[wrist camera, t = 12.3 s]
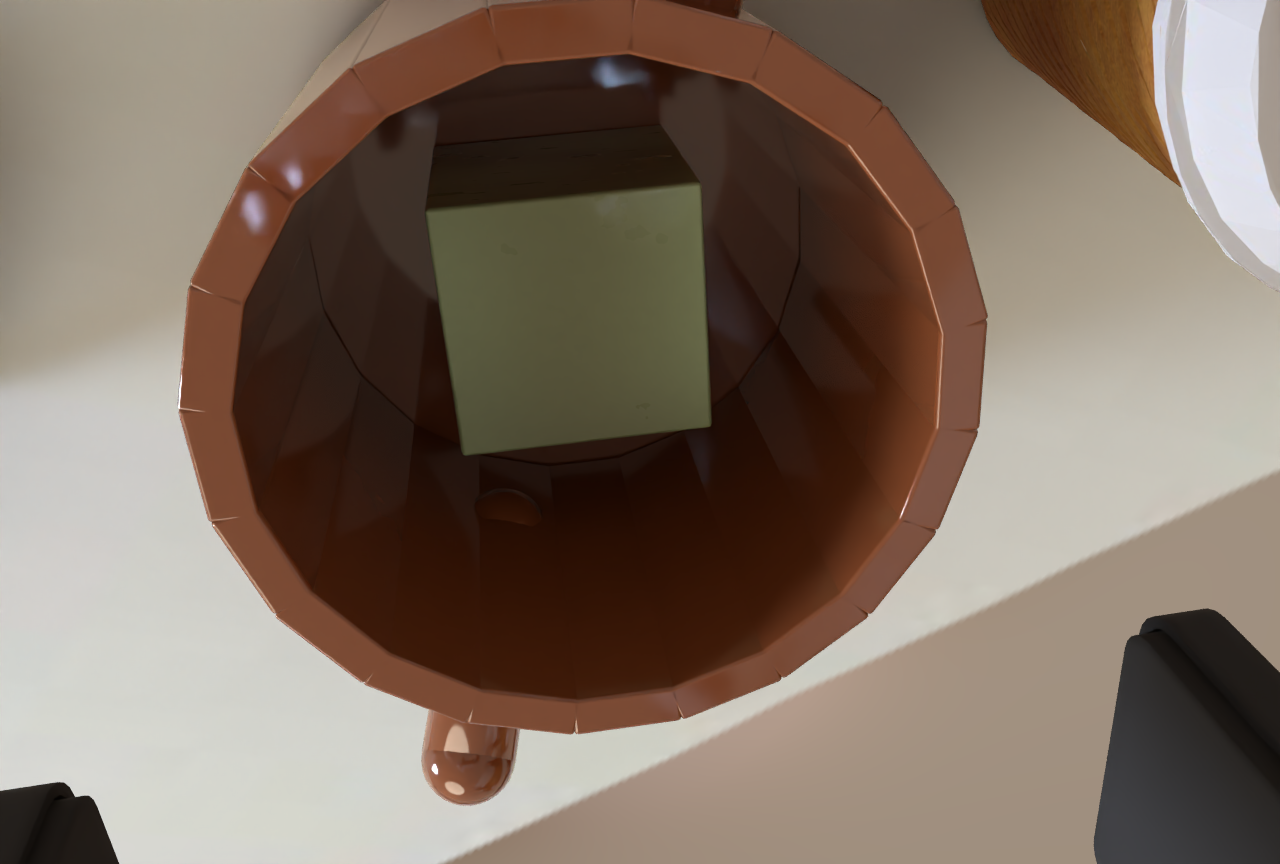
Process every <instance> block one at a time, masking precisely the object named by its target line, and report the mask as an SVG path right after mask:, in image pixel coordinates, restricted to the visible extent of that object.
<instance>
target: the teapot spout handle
mask: <svg viewBox="0 0 1280 864" xmlns="http://www.w3.org/2000/svg"><path fill="white" fill-rule="evenodd" d="M693 1H697V2H701V3H705V4H709V5H713V6H717V7H721V8H726V9H731V10H737V11H741V10H742V6H743V3H744V0H693ZM475 507H476V510H477V512H478V514H479V515H480V516H481V517H483V518H484V519H486V520H487V521H489V522H491V523H493V524H496V525H499V526H502V527H507V528H528V527H531V526H534V525H536V524H537V523H539V522H540V521H541V519H542V517H543V515H542V510H541V509H540V507H539V506H538V504H537V503H536V502H535V501H534V500H533V499H532V498H531V497H529V496H528V495H526V494H525V493H523V492H521V491H518V490H515V489H510V488H496V489H492V490H488V491H486V492H484V493H482V494H480V495H478V496H477V498H476V499H475ZM519 732H520V729H517V728H508V727H498V726H489V725H480V724H471V723H468V722H467V721H466V722H465V723H463V722H460V721H458V720H455V719H452V718H450V717H447V716H445V715H442V714H439V713H437V712H434V711H432V710H429V711H428V717H427V723H426V729H425V735H424V741H423V747H422V759H421V761H422V769H423V773H424V776H425V779H426V781H427V782H428V784H429V786H430V787H431V789H432V790H433V791H434V792H435V793H436V794H437V795H438V796H440V797H441V798H442V799H444V800H446V801H448V802H450V803H452V804H457V805H463V806H471V805H477V804H481V803H483V802H486V801H488V800H490V799H491V798H493V797H494V796H496V795H497V794H498V793H499V792H500V791H501V790H502V789H503V788H504V787H505V786H506V784H507V783H508V781H509V780H510V777H511V775H512V773H513V770H514V766H515V761H516V754H517V747H518V739H519Z"/></svg>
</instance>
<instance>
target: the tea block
mask: <svg viewBox="0 0 1280 864" xmlns="http://www.w3.org/2000/svg"><path fill="white" fill-rule="evenodd" d="M425 220H426V226H427V233H428V239H429V245H430V252H431V258H432V265H433V271H434V278H435V284H436V291H437V297H438V303H439V310H440V316H441V323H442V329H443V336H444V342H445V349H446V355H447V361H448V368H449V374H450V381H451V387H452V394H453V400H454V407H455V413H456V419H457V426H458V432H459V439H460V445H461V452H462V453H463V455H465V456H469V455H478V454H486V453H495V452H503V451H512V450H520V449H528V448H537V447H545V446H554V445H562V444H571V443H579V442H588V441H596V440H605V439H613V438H622V437H630V436H639V435H647V434H656V433H664V432H673V431H681V430H690V429H698V428H707V427H710V426H711V424H712V412H711V388H710V365H709V341H708V318H707V295H706V271H705V248H704V225H703V201H702V185H701V183H700V181H699V179H698V178H697V177H696V175H695V174H694V172H693V171H692V169H691V168H690V166H689V165H688V163H687V162H686V160H685V159H684V157H683V156H682V155H681V153H680V152H679V150H678V149H677V147H676V146H675V144H674V143H673V141H672V140H671V138H670V137H669V135H668V134H667V133H666V131H665V130H664V128H663V127H662V126H660V125H655V126H644V127H634V128H623V129H613V130H602V131H592V132H581V133H571V134H560V135H550V136H540V137H529V138H519V139H508V140H498V141H487V142H477V143H466V144H456V145H445V146H436V147H435V148H434V150H433V156H432V163H431V170H430V177H429V184H428V192H427V199H426V206H425Z"/></svg>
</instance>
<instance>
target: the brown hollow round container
mask: <svg viewBox="0 0 1280 864" xmlns="http://www.w3.org/2000/svg"><path fill="white" fill-rule="evenodd" d="M655 125H660V126H662V127H663V128H664V130H665V131H666V133H667V134H668V135H669V137H670V138H671V140H672V141H673V143H674V144H675V146H676V147H677V149H678V150H679V152H680V153H681V155H682V156H683V157H684V159H685V160H686V162H687V163H688V165H689V166H690V168H691V169H692V171H693V172H694V174H695V175H696V177H697V178H698V179H699V181H700V183H701V185H702V201H703V225H704V248H705V271H706V295H707V318H708V341H709V365H710V388H711V412H712V424H711V426H710V427H707V428H698V429H690V430H681V431H673V432H664V433H656V434H647V435H639V436H630V437H622V438H613V439H605V440H596V441H588V442H579V443H571V444H562V445H554V446H545V447H537V448H528V449H520V450H512V451H503V452H495V453H486V454H478V455H469V456H465V455H463V453H462V452H461V445H460V439H459V432H458V426H457V419H456V413H455V407H454V400H453V394H452V387H451V381H450V374H449V368H448V361H447V355H446V349H445V342H444V336H443V329H442V323H441V316H440V310H439V303H438V297H437V291H436V284H435V278H434V271H433V265H432V258H431V252H430V245H429V239H428V233H427V226H426V220H425V206H426V199H427V192H428V184H429V177H430V170H431V163H432V156H433V150H434V148H435V147H436V146H445V145H456V144H466V143H477V142H487V141H498V140H508V139H519V138H529V137H540V136H550V135H560V134H571V133H581V132H592V131H602V130H613V129H623V128H634V127H644V126H655ZM190 284H191V285H190V286H189V288H188V294H187V306H186V317H185V328H184V339H183V350H182V362H181V373H180V384H179V395H178V408H179V416H180V420H181V423H182V427H183V431H184V434H185V438H186V441H187V445H188V449H189V452H190V456H191V459H192V463H193V467H194V470H195V474H196V477H197V481H198V485H199V488H200V492H201V496H202V499H203V503H204V506H205V510H206V514H207V517H208V520H209V521H210V522H212V526H213V528H214V529H215V531H216V532H217V534H218V535H219V537H220V538H221V539H222V541H223V542H224V544H225V545H226V547H227V548H228V550H229V551H230V552H231V554H232V555H233V557H234V558H235V560H236V561H237V562H238V564H239V565H240V567H241V568H242V570H243V571H244V572H245V574H246V575H247V577H248V578H249V580H250V581H251V582H252V584H253V585H254V587H255V588H256V590H257V591H258V592H259V594H260V595H261V597H262V598H263V600H264V601H265V602H266V604H267V605H268V607H269V608H270V610H271V611H272V612H273V613H276V615H275V616H276V618H277V619H278V620H280V621H281V622H282V623H284V624H285V625H286V626H287V627H289V628H290V629H291V630H293V631H294V632H295V633H297V634H298V635H299V636H301V637H302V638H303V639H305V640H306V641H307V642H309V643H310V644H311V645H312V646H314V647H315V648H316V649H318V650H319V651H320V652H322V653H323V654H324V655H326V656H327V657H328V658H330V659H331V660H332V661H334V662H335V663H336V664H337V665H339V666H340V667H341V668H343V669H344V670H345V671H347V672H348V673H349V674H351V675H352V676H353V677H355V678H356V679H357V680H359V681H360V682H364V684H365V685H367V686H369V687H372V688H375V689H377V690H380V691H382V692H385V693H388V694H390V695H393V696H395V697H398V698H401V699H403V700H406V701H408V702H411V703H414V704H416V705H419V706H421V707H424V708H427V709H429V710H432V711H434V712H437V713H439V714H442V715H445V716H447V717H450V718H452V719H455V720H458V721H460V722H463V723H465V722H466V721H467V722H468V723H471V724H480V725H489V726H498V727H508V728H517V729H526V730H535V731H544V732H554V733H563V734H573V733H574V731H575V733H576V734H583V733H590V732H597V731H604V730H612V729H619V728H626V727H633V726H640V725H648V724H655V723H662V722H669V721H676V720H679V719H680V718H681V717H682V718H683V719H685V718H688V717H691V716H693V715H696V714H698V713H701V712H703V711H706V710H708V709H711V708H713V707H716V706H718V705H721V704H723V703H726V702H728V701H731V700H733V699H736V698H738V697H741V696H743V695H746V694H748V693H751V692H753V691H755V690H758V689H760V688H763V687H765V686H768V685H770V684H773V683H775V682H778V681H780V680H781V677H783V678H784V677H787V676H788V675H789V674H791V673H792V672H793V671H795V670H796V669H798V668H799V667H800V666H802V665H803V664H804V663H806V662H807V661H808V660H810V659H811V658H813V657H814V656H815V655H817V654H818V653H819V652H821V651H822V650H824V649H825V648H826V647H828V646H829V645H830V644H832V643H833V642H835V641H836V640H837V639H839V638H840V637H841V636H843V635H844V634H845V633H847V632H848V631H850V630H851V629H852V628H854V627H855V626H856V625H858V624H859V623H861V622H862V621H863V620H865V619H866V618H867V617H868V613H869V614H871V613H872V612H873V611H874V610H875V609H876V607H877V606H878V605H879V604H880V603H881V601H882V600H883V599H884V598H885V596H886V595H887V594H888V593H889V591H890V590H891V589H892V588H893V586H894V585H895V584H896V583H897V581H898V580H899V579H900V578H901V576H902V575H903V574H904V573H905V571H906V570H907V569H908V568H909V566H910V565H911V564H912V563H913V561H914V560H915V559H916V558H917V556H918V555H919V554H920V553H921V551H922V550H923V549H924V548H925V546H926V545H927V544H928V543H929V541H930V540H931V539H932V538H933V536H934V535H935V533H936V529H938V528H939V527H940V524H941V522H942V520H943V517H944V515H945V512H946V510H947V507H948V505H949V503H950V500H951V498H952V495H953V493H954V490H955V488H956V485H957V483H958V481H959V478H960V476H961V473H962V471H963V468H964V466H965V464H966V461H967V459H968V456H969V454H970V451H971V449H972V446H973V444H974V442H975V439H976V437H977V433H978V431H977V428H978V427H979V424H980V411H981V398H982V384H983V371H984V358H985V344H986V331H987V321H986V319H987V317H988V315H987V311H986V307H985V304H984V300H983V296H982V292H981V289H980V285H979V281H978V278H977V274H976V270H975V267H974V263H973V259H972V256H971V252H970V248H969V244H968V241H967V237H966V233H965V230H964V226H963V222H962V219H961V215H960V211H959V208H958V207H957V206H956V205H955V201H954V199H953V198H952V197H951V195H950V194H949V192H948V191H947V189H946V188H945V187H944V185H943V184H942V182H941V181H940V180H939V178H938V177H937V175H936V174H935V173H934V171H933V170H932V168H931V167H930V166H929V164H928V163H927V161H926V160H925V159H924V157H923V156H922V154H921V153H920V152H919V150H918V149H917V147H916V146H915V145H914V143H913V142H912V140H911V139H910V138H909V136H908V135H907V133H906V132H905V131H904V129H903V128H902V126H901V125H900V124H899V122H898V121H897V119H896V118H895V117H894V115H893V114H892V112H891V111H890V110H889V108H888V107H887V106H885V105H883V104H882V102H881V100H880V99H878V98H877V97H875V96H874V95H872V94H871V93H869V92H868V91H866V90H865V89H864V88H862V87H861V86H859V85H858V84H856V83H855V82H853V81H852V80H850V79H849V78H847V77H846V76H844V75H843V74H841V73H840V72H838V71H837V70H836V69H834V68H833V67H831V66H830V65H828V64H827V63H825V62H824V61H822V60H821V59H819V58H818V57H816V56H815V55H813V54H812V53H811V52H809V51H808V50H806V49H805V48H803V47H802V46H800V45H799V44H797V43H796V42H794V41H793V40H791V39H790V38H788V37H787V36H785V35H784V34H783V33H781V32H780V31H778V30H776V29H775V28H773V27H771V26H770V25H768V24H766V23H764V22H763V21H761V20H759V19H758V18H756V17H754V16H753V15H751V14H749V13H748V12H746V11H744V10H741V11H737V10H731V9H726V8H721V7H717V6H713V5H709V4H705V3H701V2H697V1H693V0H385V1H384V2H383V3H382V4H381V5H380V6H379V7H378V8H377V9H376V10H375V11H374V12H373V13H371V14H370V15H369V16H368V17H367V18H366V19H365V20H364V21H363V22H362V23H361V24H360V25H358V26H357V27H356V28H355V29H354V30H353V31H352V32H351V33H350V35H349V36H348V37H347V38H346V39H345V40H343V41H342V42H341V43H340V44H339V45H338V46H337V47H336V48H335V49H334V50H333V51H332V52H331V53H330V54H329V55H328V56H327V57H326V58H325V59H324V60H323V61H322V63H321V64H320V66H319V67H318V68H317V70H316V71H315V72H314V74H313V75H312V77H311V78H310V79H309V81H308V82H307V83H306V85H305V86H304V88H303V89H302V90H301V92H300V93H299V94H298V96H297V97H296V99H295V100H294V101H293V103H292V104H291V105H290V107H289V108H288V110H287V111H286V112H285V114H284V115H283V117H282V118H281V119H280V121H279V122H278V123H277V125H276V126H275V128H274V129H273V130H272V132H271V133H270V134H269V136H268V137H267V139H266V140H265V141H264V143H263V144H262V145H261V147H260V148H259V150H258V151H257V152H256V154H255V155H254V156H253V158H252V159H251V161H250V162H249V164H248V165H247V166H246V168H245V169H244V172H243V174H242V176H241V178H240V180H239V182H238V184H237V186H236V188H235V190H234V192H233V194H232V196H231V198H230V200H229V202H228V204H227V206H226V208H225V211H224V213H223V215H222V217H221V219H220V221H219V223H218V225H217V227H216V229H215V231H214V233H213V235H212V237H211V239H210V241H209V243H208V245H207V248H206V250H205V252H204V254H203V256H202V258H201V260H200V262H199V264H198V266H197V268H196V270H195V272H194V274H193V276H192V278H191V280H190ZM496 488H510V489H515V490H518V491H521V492H523V493H525V494H526V495H528V496H529V497H531V498H532V499H533V500H534V501H535V502H536V503H537V504H538V506H539V507H540V509H541V510H542V515H543V517H542V519H541V521H540V522H539V523H537V524H536V525H534V526H531V527H528V528H507V527H502V526H499V525H496V524H493V523H491V522H489V521H487V520H486V519H484V518H483V517H481V516H480V515H479V514H478V512H477V510H476V507H475V499H476V498H477V496H478V495H480V494H482V493H484V492H486V491H488V490H492V489H496Z"/></svg>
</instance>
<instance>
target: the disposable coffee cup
mask: <svg viewBox="0 0 1280 864" xmlns="http://www.w3.org/2000/svg"><path fill="white" fill-rule="evenodd" d="M981 2H982V5H983V8H984V11H985V15H986V18H987V20H988V22H989V24H990V26H991V28H992V29H993V31H994V33H995V35H996V37H997V38H998V40H999V41H1000V42H1001V43H1002V44H1003V46H1004V47H1005V48H1006V49H1007V50H1008V52H1009V53H1010V54H1011V55H1012V56H1013V57H1014V58H1015V59H1016V60H1018V61H1019V62H1020V63H1022V64H1023V65H1024V66H1026V67H1027V68H1028V69H1030V70H1031V71H1033V72H1034V73H1036V74H1037V75H1039V76H1040V77H1041V78H1042V79H1043V80H1045V81H1046V82H1047V83H1048V84H1049V85H1051V86H1052V87H1053V88H1055V89H1056V90H1057V91H1058V92H1060V93H1061V94H1062V95H1064V96H1065V97H1066V98H1067V99H1069V100H1070V101H1071V102H1072V103H1074V104H1075V105H1076V106H1077V107H1078V108H1079V109H1080V110H1082V111H1083V112H1084V113H1086V114H1087V115H1088V116H1090V117H1091V118H1093V119H1094V120H1095V121H1097V122H1098V123H1099V124H1101V125H1102V126H1103V127H1104V128H1106V129H1107V130H1108V131H1110V132H1111V133H1112V134H1114V135H1115V136H1116V137H1117V138H1118V139H1119V140H1120V141H1121V142H1123V143H1124V144H1125V145H1127V146H1128V147H1130V148H1131V149H1132V150H1134V151H1135V152H1137V153H1138V154H1139V155H1140V156H1141V157H1142V158H1143V159H1145V160H1146V161H1147V162H1148V163H1149V164H1151V165H1152V166H1154V167H1155V168H1156V169H1158V170H1159V171H1160V172H1162V173H1163V174H1164V175H1165V176H1166V177H1167V178H1169V179H1170V180H1172V181H1173V182H1174V183H1176V184H1177V185H1178V186H1180V187H1181V188H1183V191H1184V193H1185V196H1186V198H1187V201H1188V203H1189V204H1190V205H1191V207H1192V208H1193V210H1194V211H1195V212H1196V214H1197V215H1198V217H1199V218H1200V219H1201V221H1202V222H1203V224H1204V225H1205V226H1206V228H1207V229H1208V230H1209V232H1210V233H1211V235H1212V236H1213V237H1214V239H1215V240H1216V242H1217V243H1218V244H1219V246H1220V247H1221V248H1222V250H1223V251H1224V253H1225V254H1226V255H1227V256H1228V257H1229V258H1230V259H1232V260H1233V261H1234V262H1236V263H1237V264H1238V265H1240V266H1241V267H1243V268H1244V269H1245V270H1247V271H1248V272H1249V273H1251V274H1252V275H1253V276H1255V277H1256V278H1257V279H1259V280H1260V281H1261V282H1263V283H1264V284H1265V285H1267V286H1268V287H1270V288H1272V289H1274V290H1276V291H1278V292H1280V0H981Z"/></svg>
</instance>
